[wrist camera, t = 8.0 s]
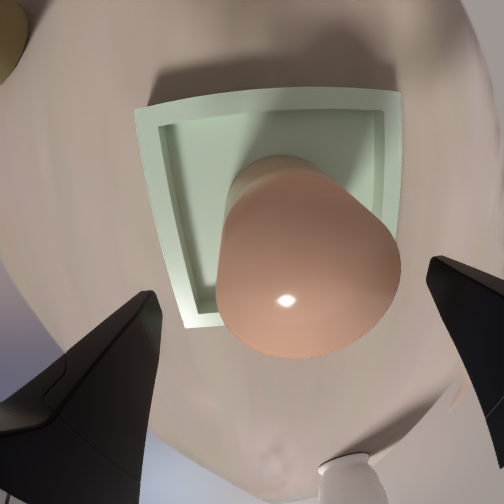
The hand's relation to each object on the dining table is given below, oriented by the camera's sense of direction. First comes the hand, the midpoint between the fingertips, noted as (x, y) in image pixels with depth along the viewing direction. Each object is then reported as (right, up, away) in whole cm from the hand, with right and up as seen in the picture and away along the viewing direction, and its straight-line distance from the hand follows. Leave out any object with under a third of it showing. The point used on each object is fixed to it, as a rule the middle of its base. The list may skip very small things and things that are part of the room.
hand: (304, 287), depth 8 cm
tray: (0, +3, +6) cm, 7 cm away
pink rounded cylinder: (0, +3, +6) cm, 7 cm away
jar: (+13, -32, +26) cm, 44 cm away
